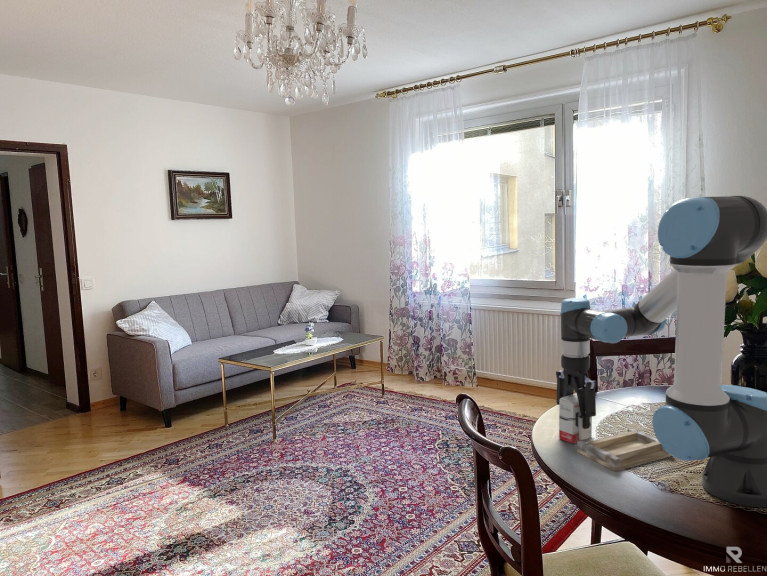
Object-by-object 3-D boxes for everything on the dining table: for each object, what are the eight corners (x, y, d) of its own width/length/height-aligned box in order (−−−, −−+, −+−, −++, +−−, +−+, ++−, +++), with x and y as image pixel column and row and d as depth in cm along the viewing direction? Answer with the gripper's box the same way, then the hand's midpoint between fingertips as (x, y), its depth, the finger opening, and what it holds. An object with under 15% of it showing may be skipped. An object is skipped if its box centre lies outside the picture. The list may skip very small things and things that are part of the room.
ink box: (573, 444, 150) (573, 402, 149) (558, 439, 155) (558, 398, 153) (592, 436, 155) (592, 396, 154) (578, 431, 159) (577, 391, 158)
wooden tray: (672, 455, 141) (672, 444, 140) (615, 471, 134) (615, 459, 133) (631, 438, 153) (631, 427, 152) (577, 451, 146) (577, 440, 145)
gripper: (611, 359, 145) (611, 444, 148) (563, 346, 162) (563, 422, 165) (589, 363, 142) (589, 449, 145) (542, 349, 159) (543, 426, 162)
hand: (575, 434), depth 155 cm, fingers closed on ink box, 6 cm apart
